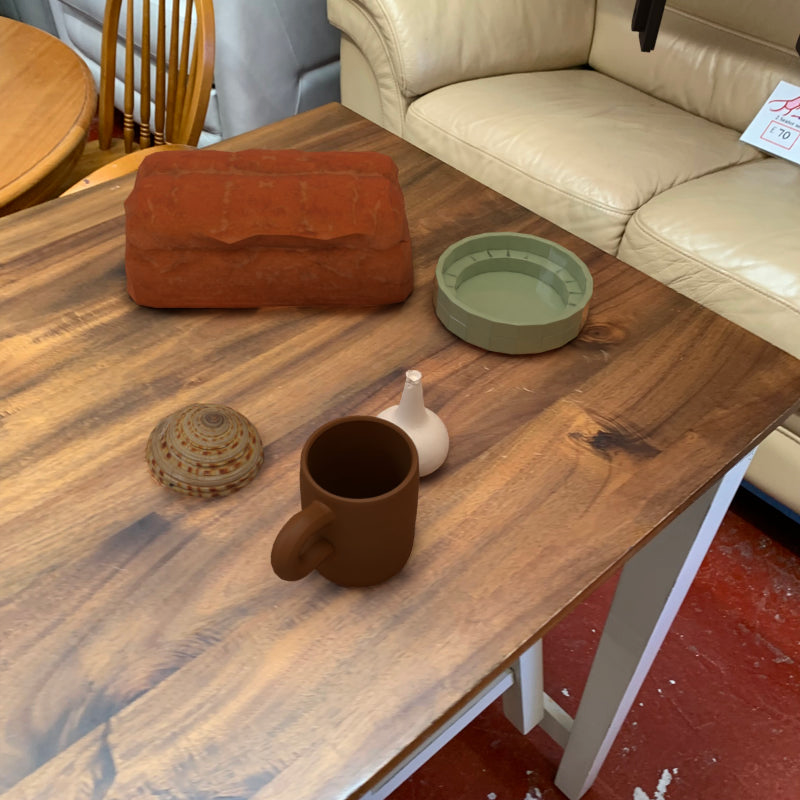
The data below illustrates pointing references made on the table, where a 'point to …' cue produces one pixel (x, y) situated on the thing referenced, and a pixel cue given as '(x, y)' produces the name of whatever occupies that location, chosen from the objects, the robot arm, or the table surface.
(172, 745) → the table surface
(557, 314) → the bowl
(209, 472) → the seashell
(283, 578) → the mug
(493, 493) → the table surface
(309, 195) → the bread
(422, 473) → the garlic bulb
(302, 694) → the table surface
